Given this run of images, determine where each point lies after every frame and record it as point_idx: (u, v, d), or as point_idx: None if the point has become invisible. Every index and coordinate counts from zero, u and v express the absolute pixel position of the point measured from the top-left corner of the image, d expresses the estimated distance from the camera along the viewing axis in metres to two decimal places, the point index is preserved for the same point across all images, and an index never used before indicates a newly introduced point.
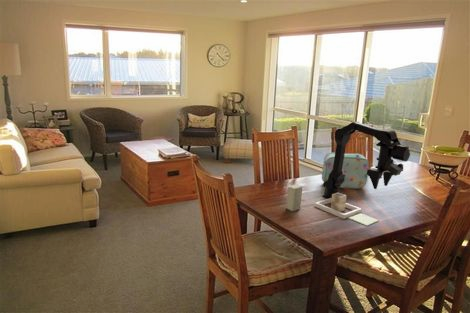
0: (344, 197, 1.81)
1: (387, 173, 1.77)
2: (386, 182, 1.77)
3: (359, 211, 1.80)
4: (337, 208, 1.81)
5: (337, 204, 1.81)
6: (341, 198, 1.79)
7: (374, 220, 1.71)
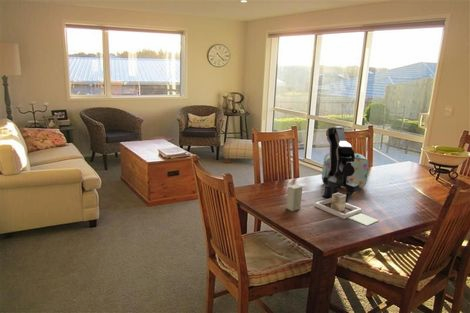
0: (344, 197, 1.81)
1: None
2: None
3: (359, 211, 1.80)
4: (337, 208, 1.81)
5: (337, 204, 1.81)
6: (341, 198, 1.79)
7: (374, 220, 1.71)
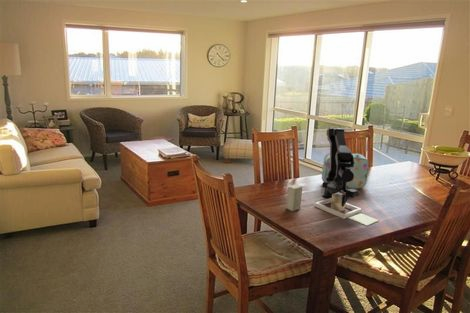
0: None
1: None
2: None
3: (359, 211, 1.80)
4: (337, 208, 1.81)
5: (337, 204, 1.81)
6: (341, 198, 1.79)
7: (374, 220, 1.71)
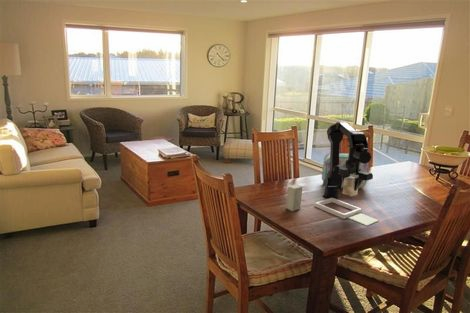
0: None
1: None
2: None
3: (359, 211, 1.80)
4: (349, 192, 1.73)
5: (349, 188, 1.73)
6: (354, 181, 1.72)
7: (374, 220, 1.71)
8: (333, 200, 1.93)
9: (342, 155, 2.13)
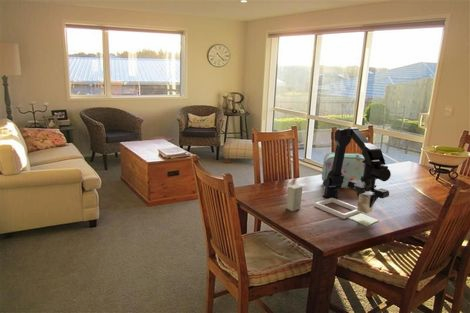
0: None
1: None
2: None
3: (359, 211, 1.80)
4: (364, 209, 1.68)
5: (364, 204, 1.68)
6: (369, 198, 1.67)
7: (374, 220, 1.71)
8: (333, 200, 1.93)
9: None
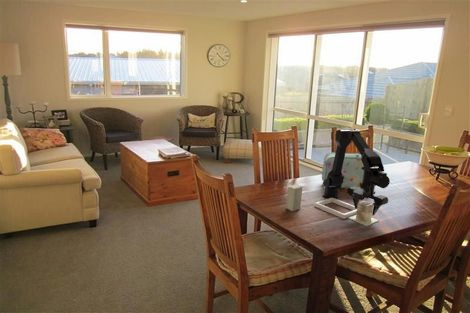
0: (371, 206, 1.69)
1: None
2: None
3: None
4: (363, 217, 1.69)
5: (363, 213, 1.69)
6: (368, 207, 1.68)
7: (374, 220, 1.71)
8: (333, 200, 1.93)
9: None
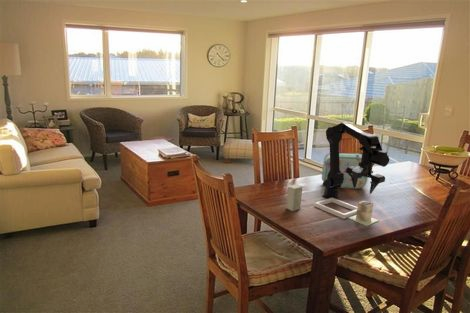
0: (371, 206, 1.69)
1: None
2: None
3: None
4: (363, 217, 1.69)
5: (363, 213, 1.69)
6: (368, 207, 1.68)
7: (374, 220, 1.71)
8: (333, 200, 1.93)
9: (342, 155, 2.13)
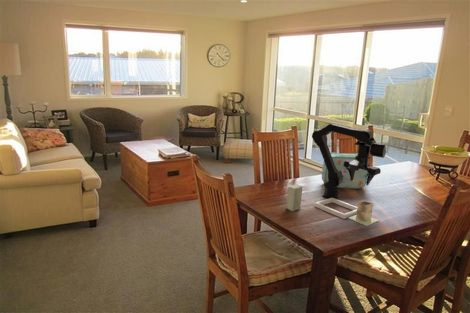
0: (371, 206, 1.69)
1: None
2: None
3: None
4: (363, 217, 1.69)
5: (363, 213, 1.69)
6: (368, 207, 1.68)
7: (374, 220, 1.71)
8: (333, 200, 1.93)
9: (342, 155, 2.13)
